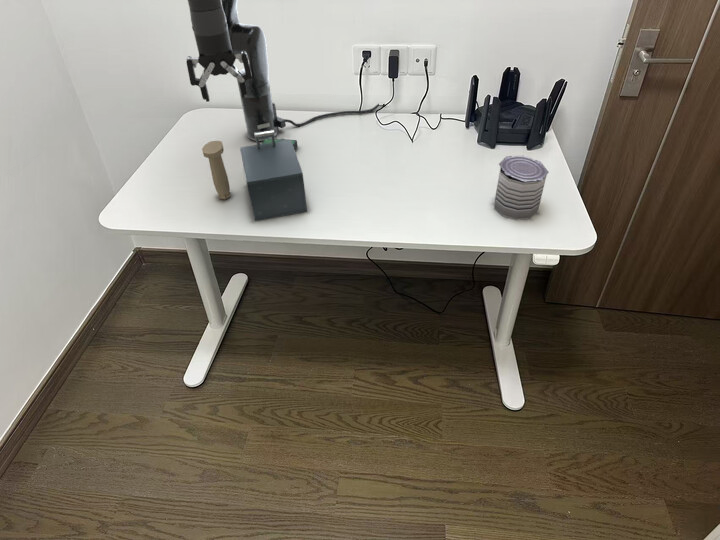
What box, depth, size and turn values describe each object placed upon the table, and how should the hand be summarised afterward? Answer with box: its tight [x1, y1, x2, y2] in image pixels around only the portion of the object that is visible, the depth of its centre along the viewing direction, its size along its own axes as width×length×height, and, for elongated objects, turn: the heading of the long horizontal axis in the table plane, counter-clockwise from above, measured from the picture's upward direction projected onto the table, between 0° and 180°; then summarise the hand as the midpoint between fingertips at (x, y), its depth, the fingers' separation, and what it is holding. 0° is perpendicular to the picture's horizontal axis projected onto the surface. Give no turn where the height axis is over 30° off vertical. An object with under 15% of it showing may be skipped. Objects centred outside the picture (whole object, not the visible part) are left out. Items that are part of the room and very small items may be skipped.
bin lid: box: [239, 130, 304, 186], centre depth 132 cm, size 18×14×5 cm
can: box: [493, 155, 550, 221], centre depth 130 cm, size 11×11×12 cm
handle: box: [201, 140, 231, 200], centre depth 137 cm, size 5×6×15 cm
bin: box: [247, 175, 308, 222], centre depth 137 cm, size 17×14×11 cm
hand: (225, 98), depth 128 cm, fingers open, 8 cm apart
